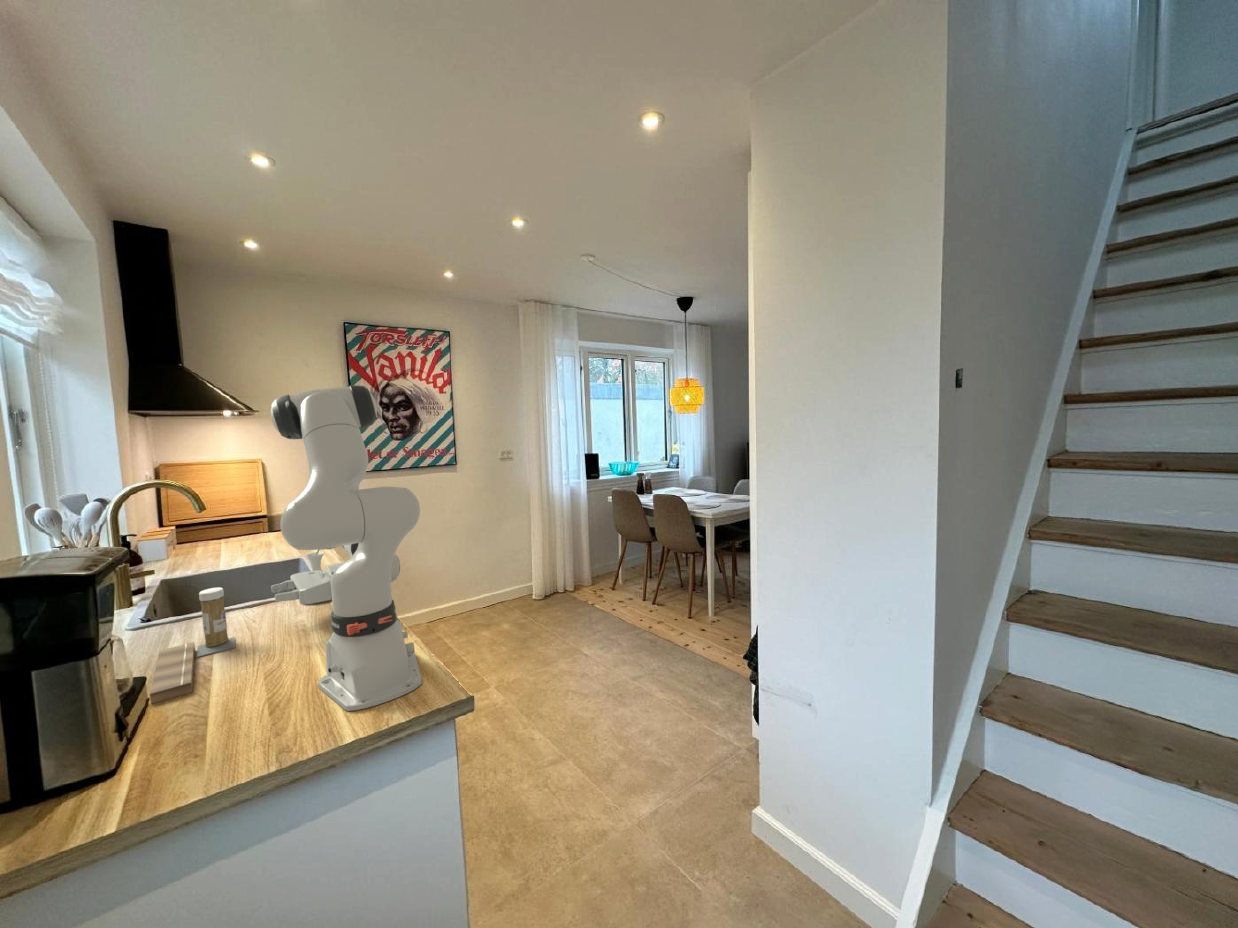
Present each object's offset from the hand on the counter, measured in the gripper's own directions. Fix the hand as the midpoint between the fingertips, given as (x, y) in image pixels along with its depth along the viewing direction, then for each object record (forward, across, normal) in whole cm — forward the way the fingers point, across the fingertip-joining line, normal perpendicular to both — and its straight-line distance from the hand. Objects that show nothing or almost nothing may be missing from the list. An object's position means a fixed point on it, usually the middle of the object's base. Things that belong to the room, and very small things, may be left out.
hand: (273, 593), depth 124 cm
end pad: (+12, -1, +10) cm, 16 cm away
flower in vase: (-13, -21, +10) cm, 27 cm away
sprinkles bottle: (+12, -3, +10) cm, 16 cm away
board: (+19, +9, +11) cm, 24 cm away
